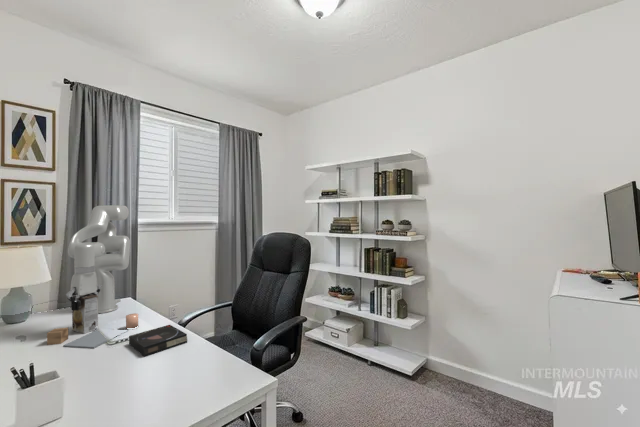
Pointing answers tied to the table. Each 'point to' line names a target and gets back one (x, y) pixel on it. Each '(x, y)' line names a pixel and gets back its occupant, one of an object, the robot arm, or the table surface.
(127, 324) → the terracotta cylinder
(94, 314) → the coffee box
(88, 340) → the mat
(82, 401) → the table surface
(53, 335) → the walnut block
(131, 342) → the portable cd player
